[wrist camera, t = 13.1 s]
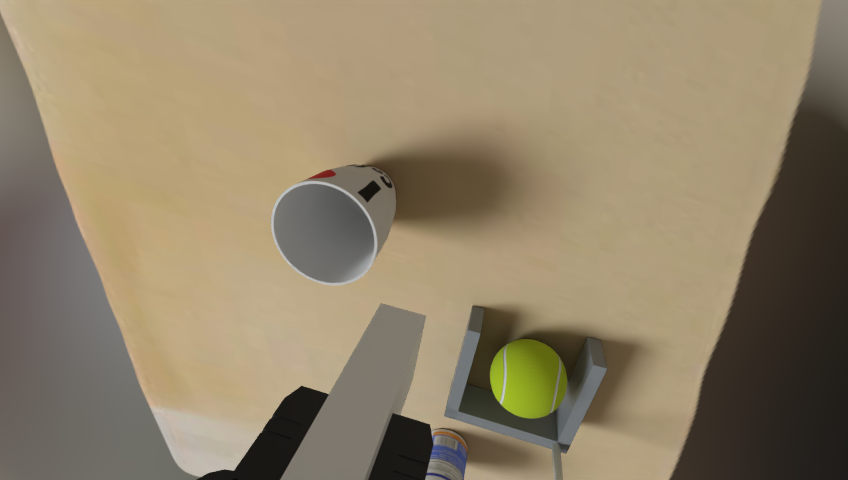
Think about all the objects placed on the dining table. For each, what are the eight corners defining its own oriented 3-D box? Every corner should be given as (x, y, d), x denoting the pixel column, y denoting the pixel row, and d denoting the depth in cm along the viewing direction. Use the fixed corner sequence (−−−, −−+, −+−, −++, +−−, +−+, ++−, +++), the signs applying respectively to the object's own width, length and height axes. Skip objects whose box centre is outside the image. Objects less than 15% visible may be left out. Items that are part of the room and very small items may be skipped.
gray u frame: (472, 305, 41) (438, 467, 25) (600, 340, 40) (649, 536, 24) (450, 387, 46) (410, 566, 30) (563, 421, 45) (583, 628, 29)
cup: (420, 163, 37) (386, 200, 28) (402, 243, 40) (367, 298, 31) (333, 138, 37) (273, 167, 29) (324, 219, 41) (268, 267, 32)
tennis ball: (570, 331, 40) (578, 383, 34) (556, 386, 43) (561, 443, 37) (497, 318, 41) (492, 366, 35) (488, 373, 44) (482, 426, 38)
